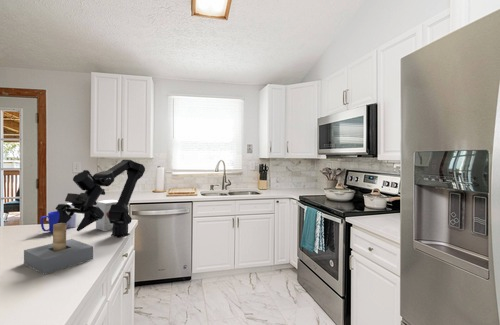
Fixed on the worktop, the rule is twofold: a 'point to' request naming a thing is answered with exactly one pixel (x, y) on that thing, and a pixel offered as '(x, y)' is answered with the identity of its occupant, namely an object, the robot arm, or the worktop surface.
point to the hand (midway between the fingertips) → (67, 229)
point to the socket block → (57, 256)
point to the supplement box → (105, 215)
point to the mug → (51, 220)
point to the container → (74, 218)
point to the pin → (59, 237)
